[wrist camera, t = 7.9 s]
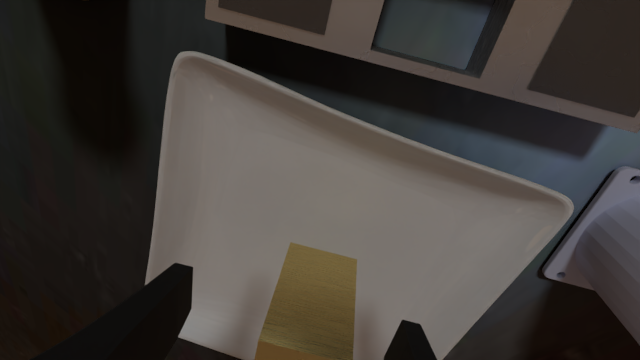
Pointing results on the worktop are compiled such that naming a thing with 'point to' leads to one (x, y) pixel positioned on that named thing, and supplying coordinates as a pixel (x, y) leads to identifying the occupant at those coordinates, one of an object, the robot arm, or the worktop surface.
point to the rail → (487, 49)
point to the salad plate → (329, 213)
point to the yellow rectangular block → (311, 308)
